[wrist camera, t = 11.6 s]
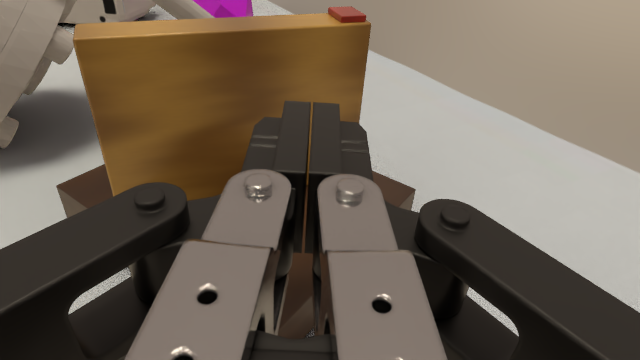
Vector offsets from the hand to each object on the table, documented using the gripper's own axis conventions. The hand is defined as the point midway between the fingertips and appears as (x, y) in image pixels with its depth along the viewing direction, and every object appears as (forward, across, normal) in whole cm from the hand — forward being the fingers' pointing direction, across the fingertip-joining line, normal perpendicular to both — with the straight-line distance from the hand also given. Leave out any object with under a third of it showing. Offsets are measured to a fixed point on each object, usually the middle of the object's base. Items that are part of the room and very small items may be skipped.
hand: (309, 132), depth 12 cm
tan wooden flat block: (+5, +3, +5) cm, 8 cm away
